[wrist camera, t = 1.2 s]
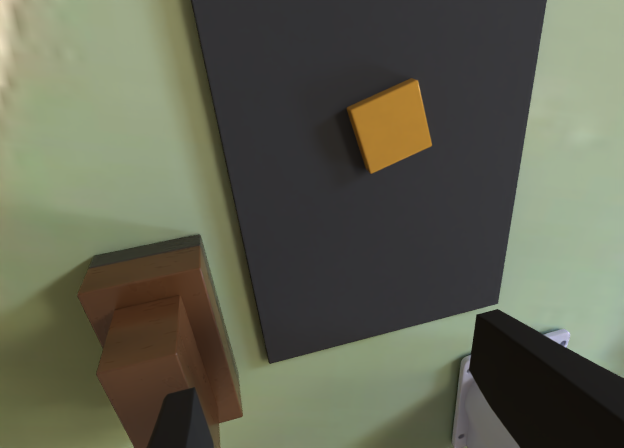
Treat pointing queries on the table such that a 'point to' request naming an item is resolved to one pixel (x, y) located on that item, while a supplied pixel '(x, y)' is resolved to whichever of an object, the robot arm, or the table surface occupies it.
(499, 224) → the mat
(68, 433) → the table surface
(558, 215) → the table surface
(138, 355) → the brown stepped block
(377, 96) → the mustard square tile
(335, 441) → the table surface
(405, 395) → the table surface
